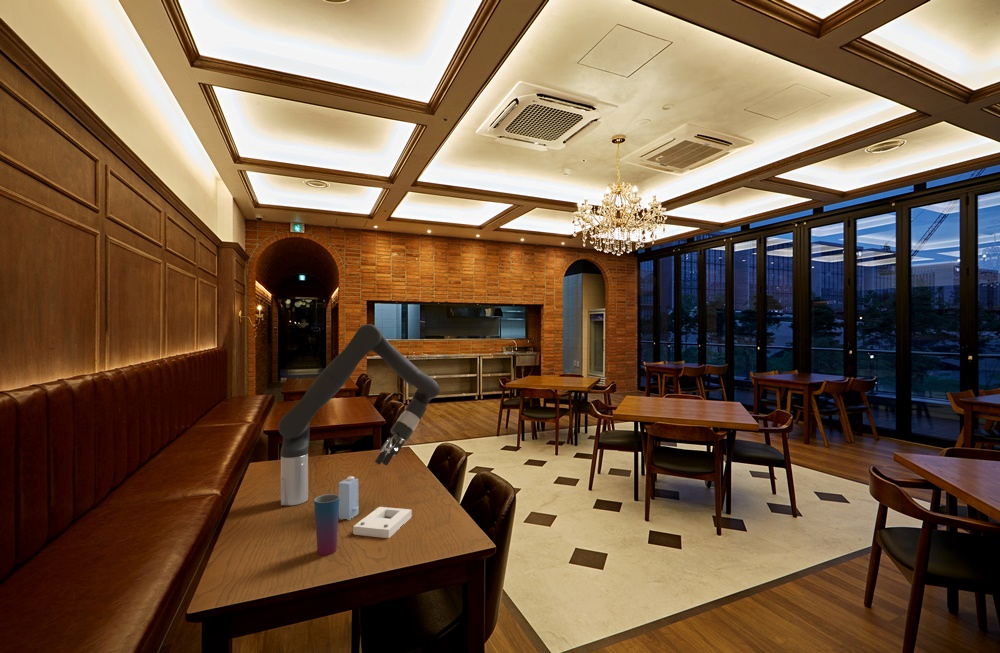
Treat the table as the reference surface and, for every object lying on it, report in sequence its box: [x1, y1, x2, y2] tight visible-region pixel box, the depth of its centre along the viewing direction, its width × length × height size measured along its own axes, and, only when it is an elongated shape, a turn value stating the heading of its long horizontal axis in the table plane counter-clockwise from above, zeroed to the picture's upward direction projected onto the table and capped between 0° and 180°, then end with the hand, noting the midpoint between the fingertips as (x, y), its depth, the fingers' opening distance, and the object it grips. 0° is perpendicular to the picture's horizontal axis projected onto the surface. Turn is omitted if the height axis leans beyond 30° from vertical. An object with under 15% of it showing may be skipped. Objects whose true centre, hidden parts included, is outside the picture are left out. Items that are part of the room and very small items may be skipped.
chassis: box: [352, 506, 413, 539], centre depth 144 cm, size 16×12×3 cm
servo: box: [338, 475, 360, 521], centre depth 152 cm, size 6×7×13 cm
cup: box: [313, 493, 340, 556], centre depth 127 cm, size 7×7×15 cm
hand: (380, 463), depth 162 cm, fingers open, 8 cm apart
